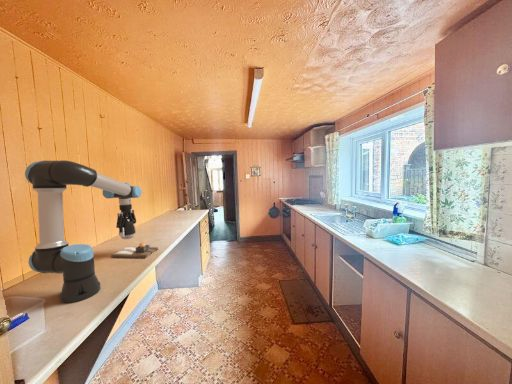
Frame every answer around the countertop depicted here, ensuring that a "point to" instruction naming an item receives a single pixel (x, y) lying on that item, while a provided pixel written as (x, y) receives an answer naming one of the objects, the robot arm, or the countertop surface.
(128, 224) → the pump dispenser
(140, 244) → the button
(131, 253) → the drawing board
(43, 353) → the countertop surface
